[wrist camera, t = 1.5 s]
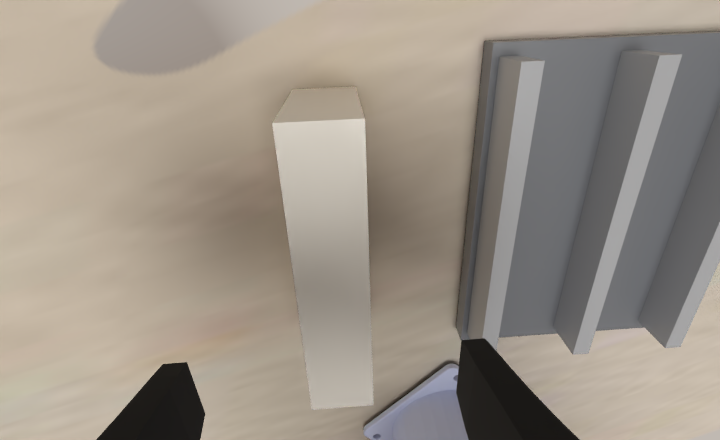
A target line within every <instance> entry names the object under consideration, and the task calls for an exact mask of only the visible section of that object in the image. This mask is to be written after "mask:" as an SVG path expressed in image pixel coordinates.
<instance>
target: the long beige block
mask: <svg viewBox="0 0 720 440" xmlns="http://www.w3.org/2000/svg"><path fill="white" fill-rule="evenodd" d="M272 126H273V133H274V140H275V147H276V155H277V162H278V169H279V176H280V183H281V191H282V198H283V205H284V212H285V220H286V227H287V234H288V241H289V249H290V256H291V263H292V270H293V277H294V285H295V292H296V299H297V306H298V314H299V321H300V328H301V335H302V343H303V350H304V357H305V364H306V372H307V379H308V386H309V393H310V400H311V408H312V410H316V409H330V408H343V407H357V406H371V405H374V400H373V367H372V333H371V300H370V267H369V233H368V200H367V167H366V133H365V117H364V113H363V110H362V106H361V103H360V100H359V96H358V93H357V89H356V86H350V87H328V88H307V89H292V91H291V93H290V94H289V96H288V98H287V99H286V101H285V103H284V104H283V106H282V108H281V109H280V111H279V113H278V114H277V116H276V118H275V119H274V121H273V123H272Z"/></svg>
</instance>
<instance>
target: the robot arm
mask: <svg viewBox="0 0 720 440" xmlns="http://www.w3.org/2000/svg"><path fill="white" fill-rule="evenodd" d="M456 375H457V376H456ZM204 417H205V412H204V409H203V406H202V404H201V401H200V398H199V395H198V392H197V390H196V387H195V384H194V381H193V378H192V376H191V373H190V370H189V367H188V364H187V362H185V363H172V364H163V365H162V366H161V367H160V368H159V369H158V370H157V371H156V373H155V374H154V375H153V376H152V377H151V378H150V379H149V380H148V382H147V383H146V384H145V385H144V386H143V387H142V389H141V390H140V391H139V392H138V393H137V394H136V395H135V397H134V398H133V399H132V400H131V401H130V402H129V404H128V405H127V406H126V407H125V408H124V409H123V410H122V412H121V413H120V414H119V415H118V416H117V417H116V418H115V420H114V421H113V422H112V423H111V424H110V425H109V426H108V427H107V428H106V430H105V431H104V432H103V433H102V434H101V435H100V436H99V437H98V438H97V440H200V438H201V432H202V427H203V422H204ZM363 430H364V435H365V436H366V437H368V438H369V439H371V440H579V439H578V438H577V437H576V436H575V435H574V434H573V433H572V432H571V431H570V430H569V429H568V428H567V427H566V426H565V425H564V424H563V423H562V422H561V421H560V420H559V419H558V418H557V417H556V416H555V415H554V414H553V413H552V412H551V411H550V410H549V409H548V408H547V407H546V406H545V405H544V404H543V403H542V402H541V400H540V399H539V398H538V397H537V396H536V395H535V394H534V393H533V392H532V391H531V390H530V389H529V388H528V387H527V386H526V384H525V383H524V382H523V381H522V380H521V379H520V378H519V377H518V376H517V374H516V373H515V372H514V371H513V370H512V369H511V368H510V366H509V365H508V364H507V363H506V362H505V361H504V360H503V358H502V357H501V356H500V355H499V354H498V353H497V351H496V350H495V349H494V348H493V347H492V345H491V344H490V343H489V342H488V341H487V340H486V339H485V338H481V339H469V340H462V342H461V352H460V361H459V366H458V365H456V364H448V365H446V366H444V367H443V368H442V369H440V370H439V371H438V372H436V373H435V374H434V375H432V376H431V377H430V378H428V379H427V380H426V381H424V382H423V383H422V384H420V385H419V386H418V387H416V388H415V389H414V390H412V391H411V392H410V393H408V394H407V395H406V396H404V397H403V398H402V399H400V400H399V401H398V402H396V403H395V404H394V405H392V406H391V407H390V408H388V409H387V410H386V411H384V412H383V413H381V414H380V415H379V416H377V417H376V418H375V419H373V420H372V421H371V422H369V423H368V424H367V425H365V427H364V429H363Z"/></svg>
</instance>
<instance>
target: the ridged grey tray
mask: <svg viewBox="0 0 720 440" xmlns="http://www.w3.org/2000/svg"><path fill="white" fill-rule="evenodd" d="M719 261H720V31H707V32H684V33H661V34H638V35H615V36H592V37H569V38H546V39H522V40H499V41H485V42H484V52H483V62H482V72H481V82H480V92H479V102H478V112H477V122H476V132H475V142H474V152H473V162H472V172H471V182H470V192H469V202H468V212H467V222H466V232H465V242H464V252H463V262H462V273H461V283H460V293H459V303H458V313H457V323H456V329H457V331H458V334H459V336H460V339H461V340H469V339H481V338H485V339H486V340H487V341H488V342H489V343H490V344H491V345H492V347H493V348H494V349H495V350H497V344H498V338H499V337H512V336H527V335H541V334H556V333H558V334H559V336H560V337H561V338H562V340H563V341H564V343H565V344H566V346H567V347H568V348H569V350H570V351H571V353H572V354H587V353H589V350H590V347H591V343H592V340H593V337H594V334H595V331H599V330H613V329H628V328H642V327H645V328H646V329H647V330H648V331H649V332H650V333H651V334H652V335H653V336H654V337H655V338H656V339H657V340H658V341H659V342H660V343H661V344H662V345H663V346H664V347H665V348H672V347H681V344H682V342H683V340H684V338H685V336H686V333H687V331H688V329H689V327H690V325H691V323H692V320H693V318H694V316H695V314H696V312H697V309H698V307H699V305H700V303H701V301H702V298H703V296H704V294H705V292H706V290H707V287H708V285H709V283H710V281H711V279H712V276H713V274H714V272H715V270H716V268H717V266H718V263H719Z"/></svg>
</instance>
